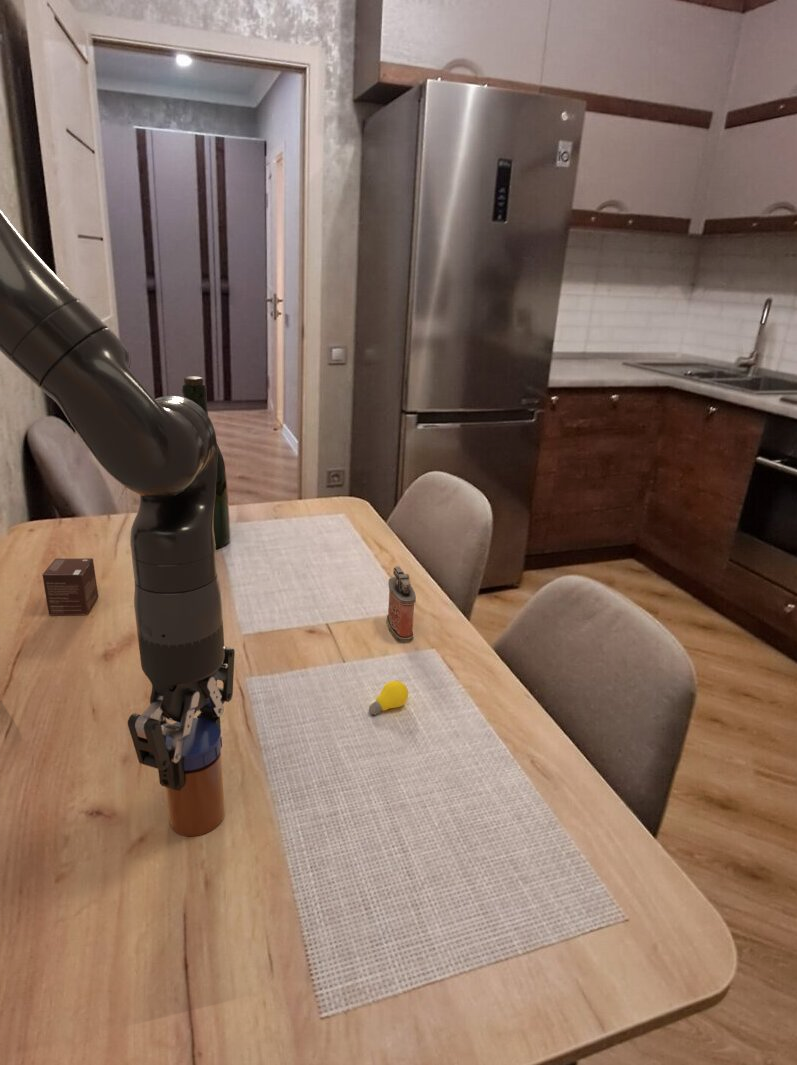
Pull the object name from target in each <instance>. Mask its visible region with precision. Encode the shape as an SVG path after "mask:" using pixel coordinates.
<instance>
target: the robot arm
mask: <svg viewBox="0 0 797 1065" xmlns="http://www.w3.org/2000/svg"><path fill="white" fill-rule="evenodd" d="M0 352H1V353H2V354H3V355H4V356H5V357H6V358H7V359H8V360H9V361H10V362H11V363H12V364H13V365H14V366H15V367H17V369H19V370H20V371H21V372H22V373H23V374H24V375H25V376H26V377H27V378H28V379H29V380H30V381H32V382H33V383H34V384H35V385H36V386H37V387H38V388H40V390H41V391H42V392H44V394H46V396H48V397H49V398H50V399H52V400H53V401H54V402H55V403H56V404H57V406H58V407H59V408H60V410H61V411H62V413H63V415H64V416H65V418H66V419H67V421H68V422H69V423H70V426H71V427H72V428H73V430H74V431H75V432H76V434H77V435H78V436H79V438H80V440H81V441H82V442H83V443H84V445H85V446H86V448H87V449H88V450H89V451H90V453H91V454H92V455H93V457H94V458H95V459H96V461H97V462H98V463H99V464H100V466H101V467H102V468H103V469H104V470H105V472H107V473H108V474H109V475H110V476H111V477H112V478H113V479H114V480H116V481H117V482H118V483H119V484H121V486H123V487H125V488H126V489H128V490H130V491H131V492H134V493H136V494H138V495H139V506H138V509H137V513H136V516H135V518H134V520H133V522H132V525H131V527H130V536H129V537H130V552H131V561H132V569H133V578H134V597H133V604H134V606H133V607H134V615H135V623H136V633H137V642H138V650H139V660H140V666H141V670H142V671H143V674H144V675H145V676H146V677H147V679H148V680H149V682H150V684H151V692H150V693H151V694H150V697H149V703H150V705H149V706H148V707H147V708H146V709H145V711H144V712H143V713H142V714H138V713H132V714H130V716H129V717H128V719H127V727H128V730H129V734H130V737H131V740H132V744H133V746H134V750H135V753H136V757H137V760H138V763H139V764H140V765H144V766H148V767H151V768H153V769H157V772H158V781H159V784H160V786H161V787H164V788H166V787H167V788H170V789H173V790H177V791H180V790H181V789H182V787H183V786H184V785H185V777H184V766H183V757H181V756H182V750H183V745H184V740H185V738H186V737H188V736H189V735H190V733H191V727H192V722H193V718H195V717H194V716H195V714H196V713H197V712H200V713H199V714H198V715H197V716H196V718H204V719H208V720H211V721H213V722H214V723H216V724H217V725H218V727H219V729H220V734H221V735H222V728H221V716H222V715H223V714H224V711H225V706H224V704H225V702H227V703H229V702H231V701H232V698H233V694H234V673H235V672H234V671H235V652H236V651H235V649H234V648H231V647H228V646H225V634H224V633H225V632H224V619H223V618H224V616H223V600H222V599H223V598H222V592H221V587H220V583H219V577H218V563H217V548H216V546H215V536H214V530H213V514H214V504H215V495H216V481H217V463H218V451H217V444H218V441H217V440H218V439H217V435H216V429H215V427H214V424H213V422H212V420H211V419H210V416H209V414H208V415H207V414H206V412H205V411H204V410H203V409H202V408H201V407H200V406H199V405H198V404H196V403H195V402H193V401H191V400H189V399H187V398H184V397H183V396H180V395H164V396H160V397H157V398H154V397H153V396H152V394H150V392H149V391H147V390H148V389H146V388H145V386H144V385H143V384H142V383H141V382H140V380H139V379H138V378H137V376H135V375H134V373H133V372H132V371H131V369H130V367H131V364H132V363H131V362H132V361H131V360H132V359H131V355H130V352H129V349H127V347H126V345H125V344H124V343H123V342H122V341H121V340H120V338H119V337H118V336H117V335H116V334H115V333H114V332H113V331H112V329H110V328H108V326H107V325H106V324H105V323H104V322H103V321H102V320H101V319H100V317H98V316H97V315H96V314H95V313H94V312H93V311H92V310H91V308H90V307H88V306H87V305H86V303H84V302H83V301H82V299H81V298H80V297H79V296H77V294H75V292H74V291H73V290H72V289H71V288H70V287H69V286H68V285H66V284H65V282H64V281H62V280H61V278H60V277H59V276H58V275H57V274H56V273H55V272H54V271H53V270H52V269H51V268H50V267H49V266H48V265H47V264H46V263H45V261H44V260H43V259H42V258H41V257H40V256H39V255H38V254H37V253H36V252H35V251H34V249H33V248H32V247H31V246H30V245H29V244H28V243H27V241H26V240H25V239H24V238H23V237H22V236H21V235H20V233H19V232H18V230H17V229H16V228H15V227H14V226H13V224H12V223H11V221H9V219H8V217H7V216H6V215H5V214H4V213H3V211H2V210H1V209H0ZM218 681H221V682H222V683H223V684H222V685H223V686H222V687H219V686H218ZM167 720H170V721H172V722H173V721H174V722H175V723H176V722H181V724H180V727H179V726H176V725H172V724H173V723H169V722H168V721H167ZM166 736H169V737H172V739H173V744H172V747H168V746H166V744H165V742H166Z"/></svg>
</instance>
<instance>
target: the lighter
mask: <svg viewBox="0 0 797 1065" xmlns="http://www.w3.org/2000/svg"><path fill="white" fill-rule="evenodd" d="M392 570H393V571H392V572H393V573H392V574H393V576H394V577H392V576H391V577H390V578H389V579H388V584H387V585H388V590H389V591H388V610H387V615H386V626H387V628H388V631H389V633H390V634H391V636H392V637H393V638H394V639H395V640H396V641H397V642H398V643H401V644H409V643H412V642H413V641H414V631H413V629H414V628H413V627H414V613H415V612H414V611H415V603H416V602H417V596H416V592H415V590H414V588H413V587H412V582H411V581H410V575H409V573H405V572H404V570H403V569H402V567H401V566H400V565H396V566H394V567H393V569H392Z"/></svg>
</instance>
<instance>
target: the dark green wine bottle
mask: <svg viewBox="0 0 797 1065" xmlns="http://www.w3.org/2000/svg"><path fill="white" fill-rule="evenodd" d="M181 395H182V397H184V398H187V399H189V400H191V401H193V402H195V403H196V404H198V405H199V406H200V407H201V408H202V409H203V410H204V411H205V412H206V414H207V415H208V416H209V410H208V402H207V401H208V400H207V387H206V384H205V383H204V379H203V377H202V376H197V375H195V376H194V375H192V376H185V377H184V378H183V384H182V385H181ZM218 444H219V443H217V451H218V463H217V481H216V495H215V504H214V514H213V530H214V536H215V546H216V549H219V548H221V547H224V546H225V545H227V544H228V543H229V542H230V540H231V518H230V504H229V502H230V501H229V491H228V490H229V488H228V477H227V469H226V464H225V463H226V462H225V460H224V459H225V458H224V456H223V453H222V451H221V448H220V446H219V445H218Z"/></svg>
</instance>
